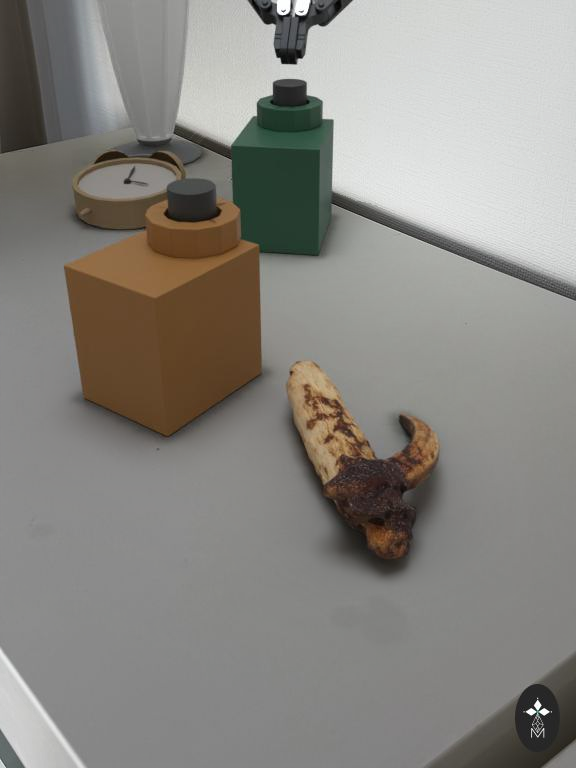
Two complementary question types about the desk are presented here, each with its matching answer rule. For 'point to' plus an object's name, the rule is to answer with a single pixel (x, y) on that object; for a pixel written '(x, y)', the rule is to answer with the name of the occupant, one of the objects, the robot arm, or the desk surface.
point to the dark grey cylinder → (192, 200)
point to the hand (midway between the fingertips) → (288, 59)
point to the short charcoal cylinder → (289, 92)
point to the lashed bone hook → (360, 462)
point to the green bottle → (284, 177)
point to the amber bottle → (168, 318)
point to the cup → (149, 69)
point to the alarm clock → (124, 187)
